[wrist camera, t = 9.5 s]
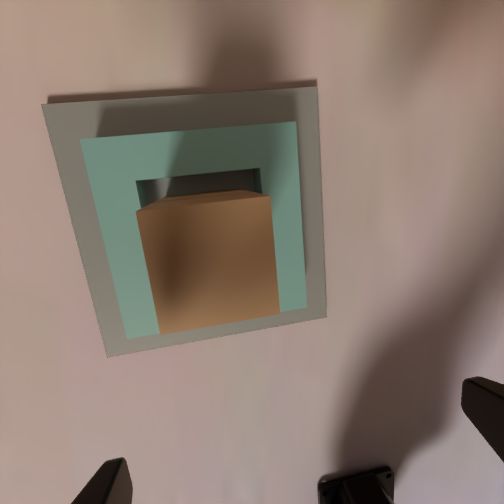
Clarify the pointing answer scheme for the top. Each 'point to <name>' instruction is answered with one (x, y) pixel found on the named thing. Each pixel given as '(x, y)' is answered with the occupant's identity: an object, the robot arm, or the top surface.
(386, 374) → the top surface
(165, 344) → the socket block
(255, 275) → the walnut peg
